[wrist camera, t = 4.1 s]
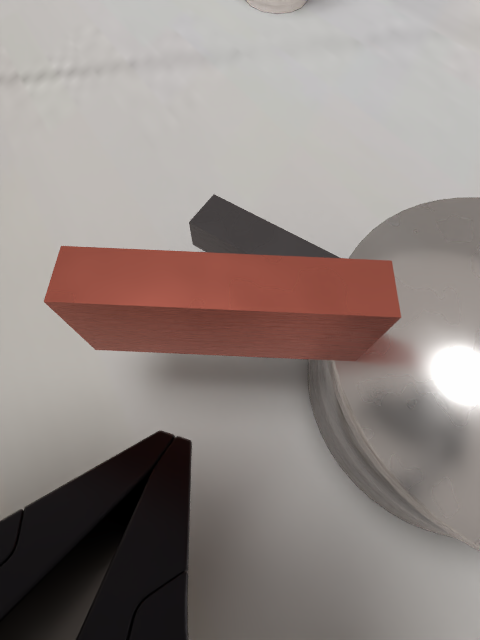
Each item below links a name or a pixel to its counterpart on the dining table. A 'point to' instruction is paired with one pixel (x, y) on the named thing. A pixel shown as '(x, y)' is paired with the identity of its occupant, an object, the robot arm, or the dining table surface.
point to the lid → (326, 334)
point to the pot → (268, 239)
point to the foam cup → (277, 5)
